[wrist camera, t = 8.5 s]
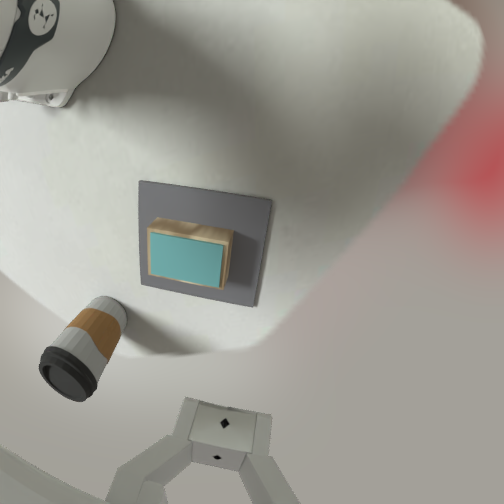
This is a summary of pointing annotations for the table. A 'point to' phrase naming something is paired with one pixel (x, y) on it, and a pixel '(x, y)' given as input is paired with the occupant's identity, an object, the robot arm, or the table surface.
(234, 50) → the table surface
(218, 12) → the table surface
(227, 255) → the plaque
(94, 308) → the coffee cup
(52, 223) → the table surface
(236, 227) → the mat
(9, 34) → the robot arm
